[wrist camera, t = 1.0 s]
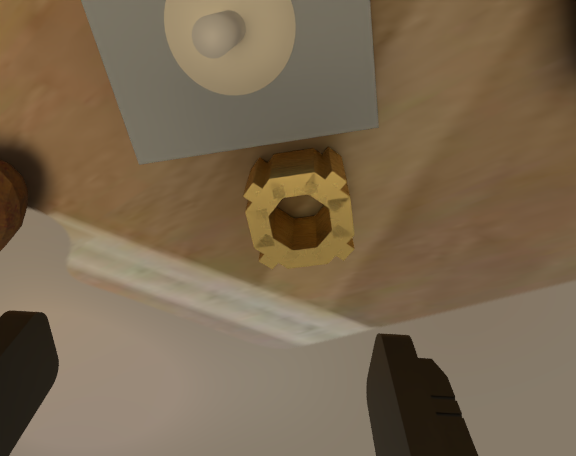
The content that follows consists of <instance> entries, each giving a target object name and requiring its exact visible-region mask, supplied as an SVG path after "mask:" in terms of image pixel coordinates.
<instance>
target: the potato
mask: <svg viewBox="0 0 576 456" xmlns="http://www.w3.org/2000/svg"><path fill="white" fill-rule="evenodd" d="M27 200H28V190H27V187H26V184H25V182H24V179H23V177H22V176H21V175H20V174H19V173H18V172H17V171H16V170H15V169H14V168H13V167H12V166H11V165H10V164H9V163H6V162H4V161H1V160H0V251H1V250H2V249H3V248H4V247H5V245H7V243H8V242H9V241H10V240H11V238H12V237H13V236H14V235H15V233H16V232H17V231H18V230H19V228H20V227H21V226H22V223H23V219H24V216H25V213H26V209H27Z"/></svg>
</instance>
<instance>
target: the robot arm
mask: <svg viewBox="0 0 576 456" xmlns="http://www.w3.org/2000/svg"><path fill="white" fill-rule="evenodd" d="M58 366H59V360H58V355H57V351H56V348H55V344H54V340H53V336H52V333H51V329H50V325H49V322H48V319H47V316H46V315H45V314H44V313H42V312H26V311H7V312H5V313H4V314H3V315H2V316H1V317H0V456H9V455H10V453H11V451H12V450H13V448H14V447H15V445H16V443H17V441H18V440H19V438H20V437H21V435H22V434H23V432H24V430H25V429H26V427H27V426H28V424H29V422H30V421H31V419H32V418H33V416H34V414H35V413H36V411H37V409H38V408H39V406H40V405H41V403H42V402H43V400H44V398H45V397H46V395H47V394H48V392H49V390H50V389H51V387H52V385H53V384H54V382H55V379H56V376H57V373H58ZM367 405H368V411H369V417H370V422H371V428H372V434H373V440H374V446H375V452H376V456H478V454H477V451H476V449H475V446H474V444H473V441H472V439H471V436H470V434H469V431H468V428H467V426H466V423H465V421H464V418H462V413H461V411H460V408H459V405H458V403H457V401H455V395H454V393H453V390H452V388H451V385H450V382H449V380H448V377H447V376H446V375H445V374H444V372H443V371H442V370H441V369H440V368H439V367H438V365H437V364H436V363H435V362H434V361H433V360H432V359H425V358H418V357H417V354H416V351H415V348H414V345H413V342H412V339H411V337H410V336H409V335H396V334H377V336H376V340H375V344H374V349H373V353H372V358H371V363H370V367H369V372H368V377H367Z"/></svg>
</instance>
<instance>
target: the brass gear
mask: <svg viewBox="0 0 576 456" xmlns="http://www.w3.org/2000/svg"><path fill="white" fill-rule="evenodd" d="M307 194H309V195H310V196H312V197H313V198H315V199H316V200H318V201H319V202H321V203H322V204H324V206H323V207H322V208H321V210H320V211H319V212H318V213H317V214H316V215H315V216H310V217H303V218H295V219H294V218H292V217H291V216H289V215H288V214H286V213H285V212H283V211H281V210H280V209H278V208H277V207H276V206H277V205H278V203H279V202H280V201H281V200H282V198H286V197H293V196H300V195H307ZM243 197H245V198H246V199H248V203H247V207H246V211H245V212H246V216H247V221H248V225H249V229H250V233H251V237H252V241H253V245H254V248H255V249H256V250H258V251H260V255H259V262H261V263H262V264H264V265H266V266H267V267H269V268H271V269H272V270H273V268H274V267H275V266H276V265H277V264H278V263H279V264H281V265H283V266H284V267H286V268H288V269H289V268H297V267H305V266H313V265H322V264H328V263H329V262H330V261H331V260H332V259H333V258H334V257H335V256H337V257H339V258H340V259H342V260H343V261H344V260H345V259H346V258H347V257H348V256H349V254H350V253H351V252H352V251H353V250H354V244H353V239H352V237H353V236H354V228H353V219H352V210H351V200H350V194H349V190H348V186H347V179H346V175H345V171H344V166H343V162H342V158H341V156H340V155H339V154H337V153H336V152H335V151H333V150H332V149H330V148H329V147H328V148H327V149H326V150H325V152H324V153H323V154H321V153H319V152H318V151H316V150H315V149H314V148H310V149H303V150H297V151H290V152H284V153H277V154H274V155H273V156H272V158H271V159H270V160H269V162H268V163H267V162H266V161H264V160H263V159H261V158H260V157H259V159H258V160H257V162H256V163H255V164H254V166H253V167H252V169H251V171H250V174H249V177H248V181H247V184H246V188H245V191H244V195H243Z"/></svg>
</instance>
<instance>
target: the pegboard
mask: <svg viewBox="0 0 576 456" xmlns="http://www.w3.org/2000/svg"><path fill="white" fill-rule="evenodd" d="M81 1H82V4H83V7H84V10H85V13H86V15H87V18H88V21H89V24H90V27H91V30H92V32H93V35H94V38H95V41H96V44H97V47H98V49H99V52H100V55H101V58H102V61H103V64H104V66H105V69H106V72H107V75H108V78H109V81H110V83H111V86H112V89H113V92H114V95H115V98H116V100H117V103H118V106H119V109H120V112H121V115H122V117H123V120H124V123H125V126H126V129H127V132H128V134H129V137H130V140H131V143H132V146H133V149H134V151H135V154H136V157H137V160H138V163H139V165H140V164H147V163H153V162H159V161H166V160H172V159H179V158H185V157H192V156H198V155H204V154H211V153H217V152H224V151H230V150H237V149H243V148H249V147H256V146H262V145H269V144H275V143H282V142H288V141H294V140H301V139H307V138H314V137H320V136H327V135H333V134H339V133H346V132H352V131H359V130H365V129H372V128H378V127H379V125H378V110H377V96H376V81H375V66H374V52H373V37H372V23H371V8H370V0H81Z"/></svg>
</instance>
